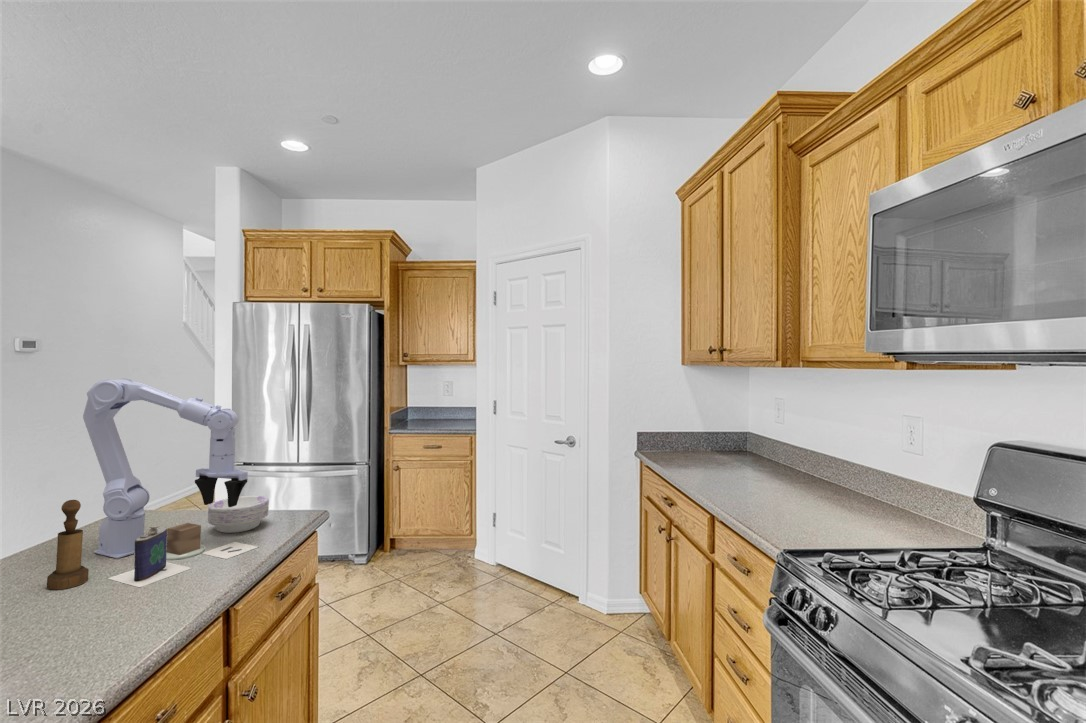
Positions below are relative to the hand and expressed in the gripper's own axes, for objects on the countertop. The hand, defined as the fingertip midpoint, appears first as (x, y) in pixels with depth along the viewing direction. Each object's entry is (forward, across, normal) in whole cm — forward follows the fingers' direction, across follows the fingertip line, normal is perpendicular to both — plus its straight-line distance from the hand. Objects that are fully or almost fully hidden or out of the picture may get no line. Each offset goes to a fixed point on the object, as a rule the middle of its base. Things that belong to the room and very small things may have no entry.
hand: (220, 505), depth 131 cm
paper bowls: (+11, -5, +12) cm, 17 cm away
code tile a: (+10, +1, -19) cm, 22 cm away
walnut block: (+10, -3, -8) cm, 13 cm away
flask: (+10, +1, -19) cm, 22 cm away
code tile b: (+10, +7, -3) cm, 13 cm away
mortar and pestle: (+11, -11, -28) cm, 32 cm away
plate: (+10, -3, -8) cm, 13 cm away
